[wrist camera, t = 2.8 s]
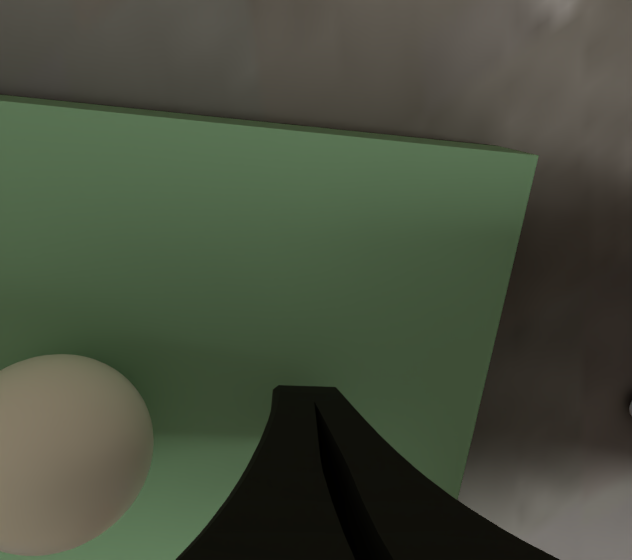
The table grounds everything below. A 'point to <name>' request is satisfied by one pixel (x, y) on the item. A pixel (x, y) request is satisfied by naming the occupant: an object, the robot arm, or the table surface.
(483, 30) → the table surface
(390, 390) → the green
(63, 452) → the ball
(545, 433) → the table surface
